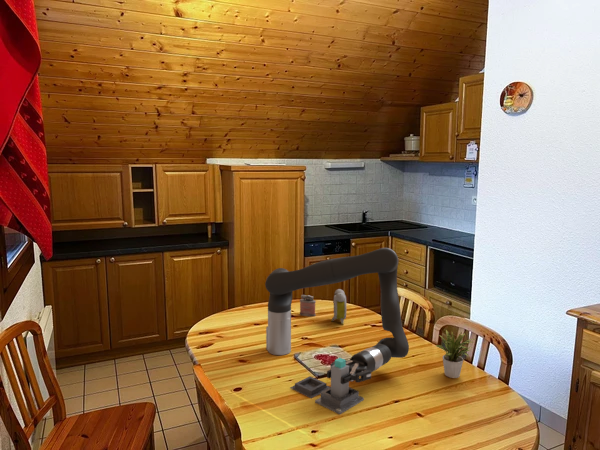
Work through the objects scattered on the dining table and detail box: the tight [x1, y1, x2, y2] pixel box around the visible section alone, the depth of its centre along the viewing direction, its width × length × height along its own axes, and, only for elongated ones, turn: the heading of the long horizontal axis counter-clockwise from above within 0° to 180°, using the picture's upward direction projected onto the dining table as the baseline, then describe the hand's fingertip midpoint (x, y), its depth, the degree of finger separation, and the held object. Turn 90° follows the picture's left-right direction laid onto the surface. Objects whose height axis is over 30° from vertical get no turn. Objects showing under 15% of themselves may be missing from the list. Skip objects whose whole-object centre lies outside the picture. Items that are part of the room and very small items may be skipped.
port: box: [314, 386, 365, 415], centre depth 146 cm, size 10×12×4 cm
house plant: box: [435, 329, 475, 379], centre depth 163 cm, size 14×14×16 cm
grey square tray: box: [289, 375, 331, 400], centre depth 155 cm, size 10×10×2 cm
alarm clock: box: [330, 288, 347, 326], centre depth 219 cm, size 12×7×15 cm, turn 179°
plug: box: [330, 357, 350, 399], centre depth 146 cm, size 4×4×13 cm
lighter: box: [299, 294, 317, 317], centre depth 229 cm, size 8×3×10 cm, turn 71°
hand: (334, 378), depth 144 cm, fingers open, 5 cm apart
